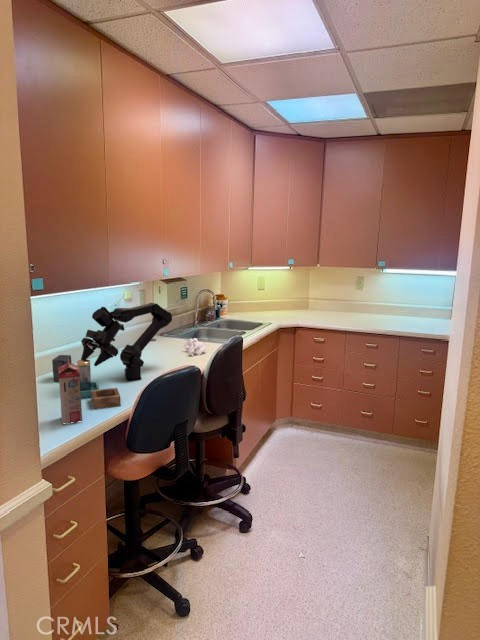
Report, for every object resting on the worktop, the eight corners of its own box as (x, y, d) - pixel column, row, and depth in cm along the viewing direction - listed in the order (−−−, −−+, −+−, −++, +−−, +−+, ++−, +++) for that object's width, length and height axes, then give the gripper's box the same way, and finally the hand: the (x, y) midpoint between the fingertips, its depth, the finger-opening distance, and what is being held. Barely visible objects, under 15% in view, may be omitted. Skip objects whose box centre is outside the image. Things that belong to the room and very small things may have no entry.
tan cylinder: (93, 389, 181) (92, 359, 179) (88, 394, 176) (86, 363, 174) (82, 389, 182) (80, 359, 180) (76, 393, 177) (74, 362, 175)
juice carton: (81, 414, 159) (77, 357, 155) (82, 422, 153) (79, 362, 149) (61, 417, 156) (57, 359, 152) (62, 424, 150) (58, 364, 146)
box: (60, 376, 200) (59, 354, 198) (72, 377, 200) (71, 355, 198) (53, 382, 192) (51, 359, 190) (65, 382, 192) (64, 359, 190)
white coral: (210, 350, 240) (198, 339, 236) (199, 362, 239) (187, 351, 235) (204, 345, 251) (192, 334, 247) (194, 356, 250) (182, 346, 246)
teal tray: (97, 388, 186) (97, 381, 186) (100, 396, 177) (99, 389, 176) (70, 391, 182) (69, 384, 182) (71, 400, 172) (70, 393, 172)
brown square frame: (117, 396, 177) (116, 387, 176) (120, 405, 168) (120, 396, 167) (91, 400, 173) (91, 390, 172) (93, 409, 164) (93, 399, 163)
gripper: (83, 319, 185) (61, 349, 178) (111, 325, 174) (89, 357, 168) (100, 333, 193) (79, 363, 186) (127, 340, 182) (106, 371, 175)
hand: (88, 363), depth 179 cm, fingers open, 9 cm apart
